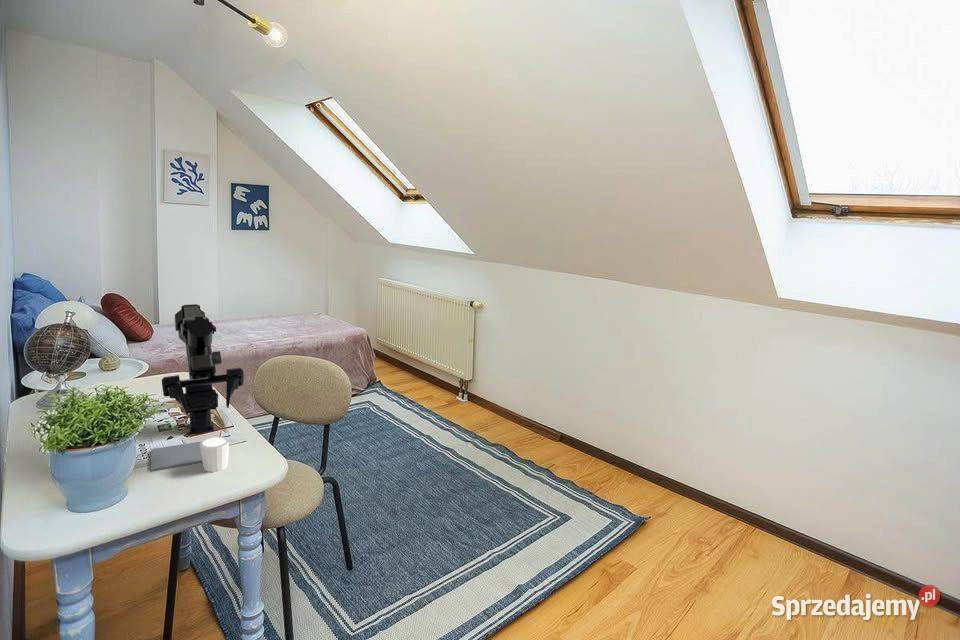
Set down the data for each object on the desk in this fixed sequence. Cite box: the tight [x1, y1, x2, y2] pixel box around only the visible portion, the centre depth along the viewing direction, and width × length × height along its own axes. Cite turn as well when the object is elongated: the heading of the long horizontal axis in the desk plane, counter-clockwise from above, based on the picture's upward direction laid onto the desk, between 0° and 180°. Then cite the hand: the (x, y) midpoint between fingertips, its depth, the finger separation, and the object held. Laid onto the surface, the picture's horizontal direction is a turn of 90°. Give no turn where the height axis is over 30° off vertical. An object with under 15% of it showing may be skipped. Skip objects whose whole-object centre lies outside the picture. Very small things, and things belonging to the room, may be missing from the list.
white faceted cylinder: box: [199, 436, 230, 473], centre depth 140 cm, size 7×7×7 cm
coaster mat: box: [150, 440, 203, 472], centre depth 144 cm, size 12×12×1 cm
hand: (207, 410), depth 137 cm, fingers open, 9 cm apart
